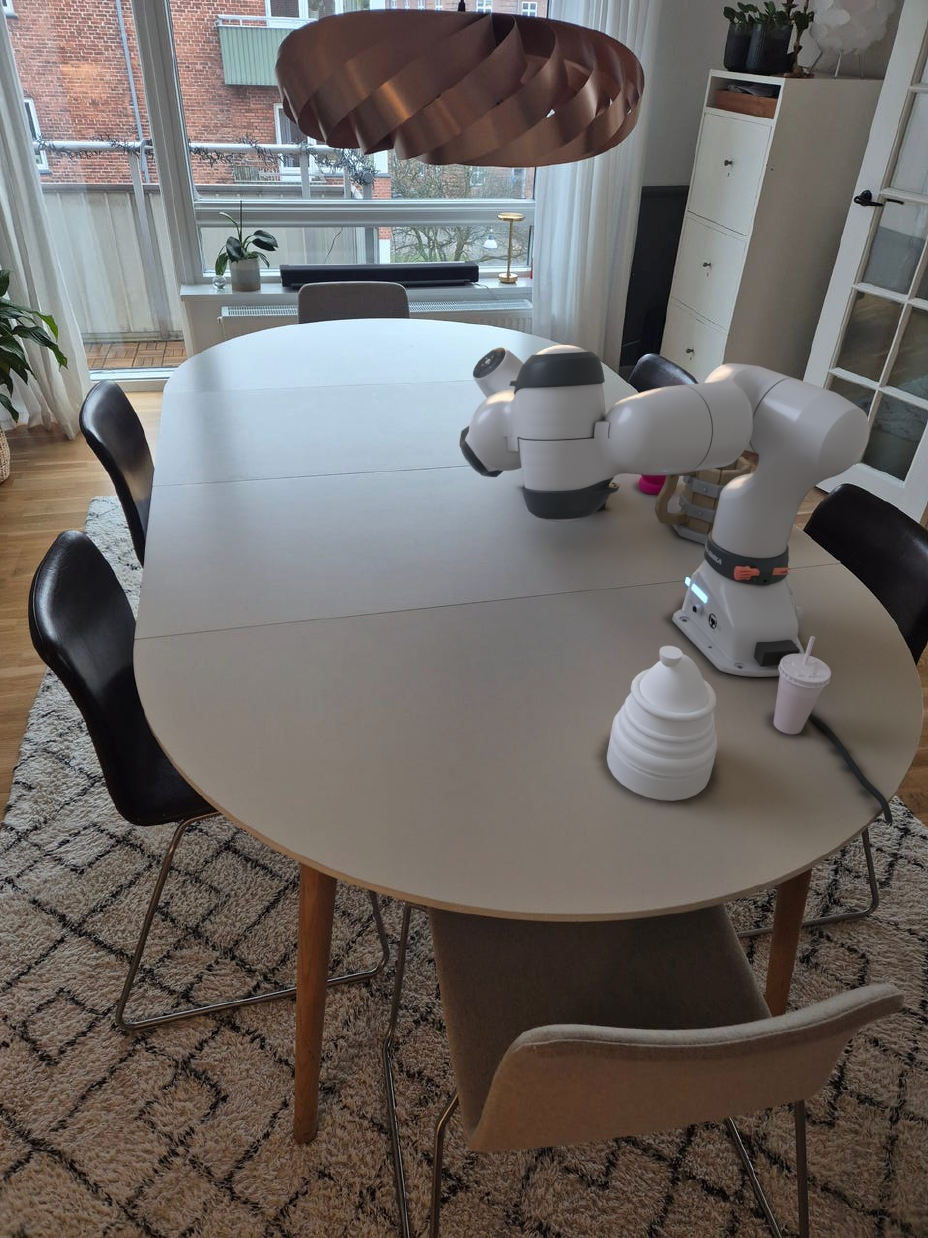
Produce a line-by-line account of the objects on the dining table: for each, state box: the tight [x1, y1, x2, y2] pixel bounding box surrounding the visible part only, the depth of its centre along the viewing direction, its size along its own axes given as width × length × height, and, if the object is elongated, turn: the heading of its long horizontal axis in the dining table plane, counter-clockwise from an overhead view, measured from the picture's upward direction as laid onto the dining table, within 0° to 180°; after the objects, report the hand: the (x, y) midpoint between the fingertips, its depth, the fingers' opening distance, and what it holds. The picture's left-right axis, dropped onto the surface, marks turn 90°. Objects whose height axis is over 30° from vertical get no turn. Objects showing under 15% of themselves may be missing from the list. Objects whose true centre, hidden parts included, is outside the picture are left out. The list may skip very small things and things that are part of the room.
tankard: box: [654, 455, 753, 546], centre depth 161 cm, size 20×13×15 cm, turn 99°
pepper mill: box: [637, 475, 667, 496], centre depth 175 cm, size 7×7×20 cm
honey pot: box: [606, 645, 718, 802], centre depth 104 cm, size 13×13×18 cm
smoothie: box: [773, 635, 832, 735], centre depth 113 cm, size 6×6×14 cm
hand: (570, 454), depth 170 cm, fingers closed on candle, 5 cm apart
